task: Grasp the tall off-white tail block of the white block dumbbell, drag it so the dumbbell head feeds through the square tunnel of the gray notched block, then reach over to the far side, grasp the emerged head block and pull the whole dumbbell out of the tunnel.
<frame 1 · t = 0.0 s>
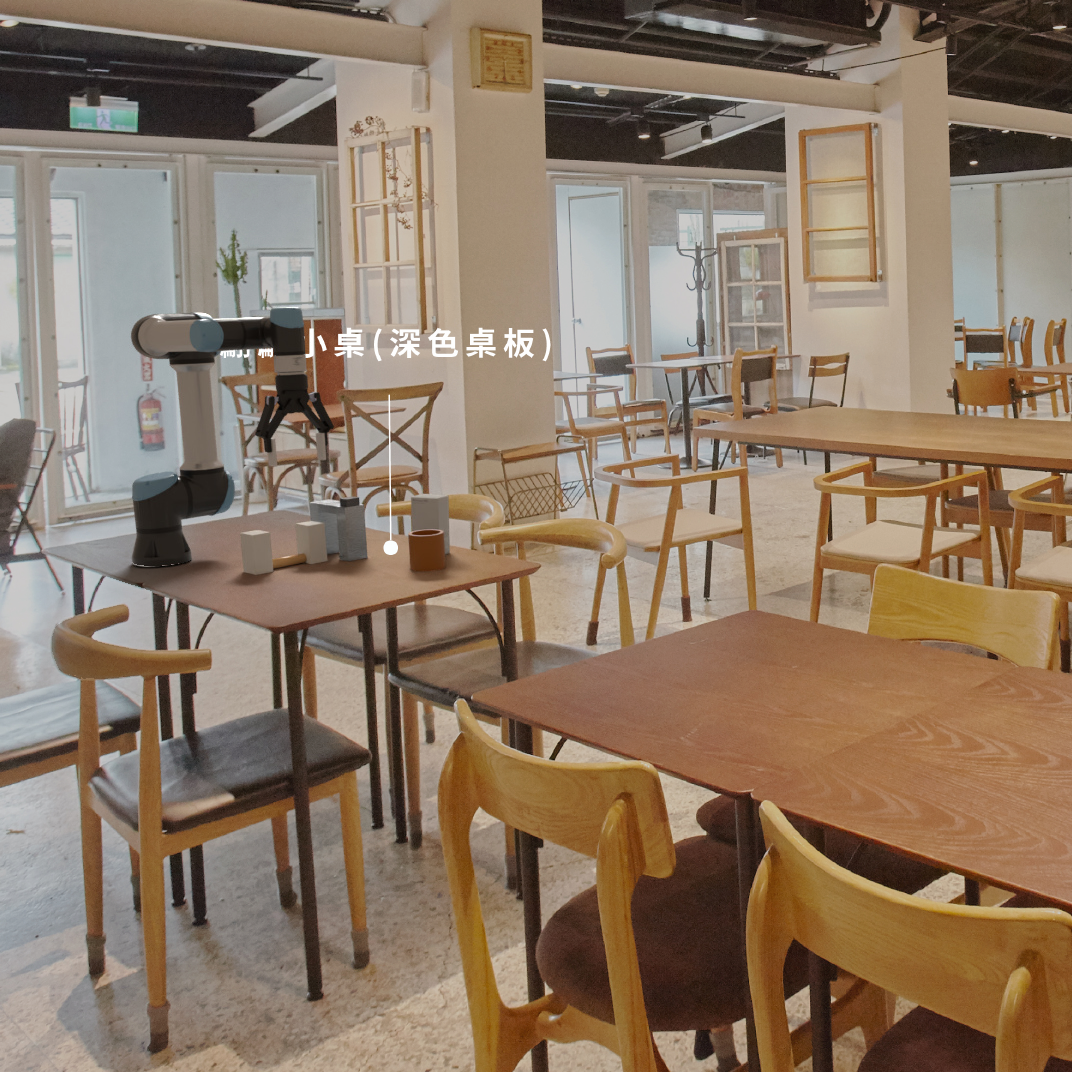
hand: (297, 463, 291), 28 cm above the table, fingers open, 13 cm apart
skincare box: (432, 555, 318), on the table
mug: (430, 567, 303), on the table
white block dumbbell: (312, 561, 315), on the table
gray notched block: (340, 555, 321), on the table
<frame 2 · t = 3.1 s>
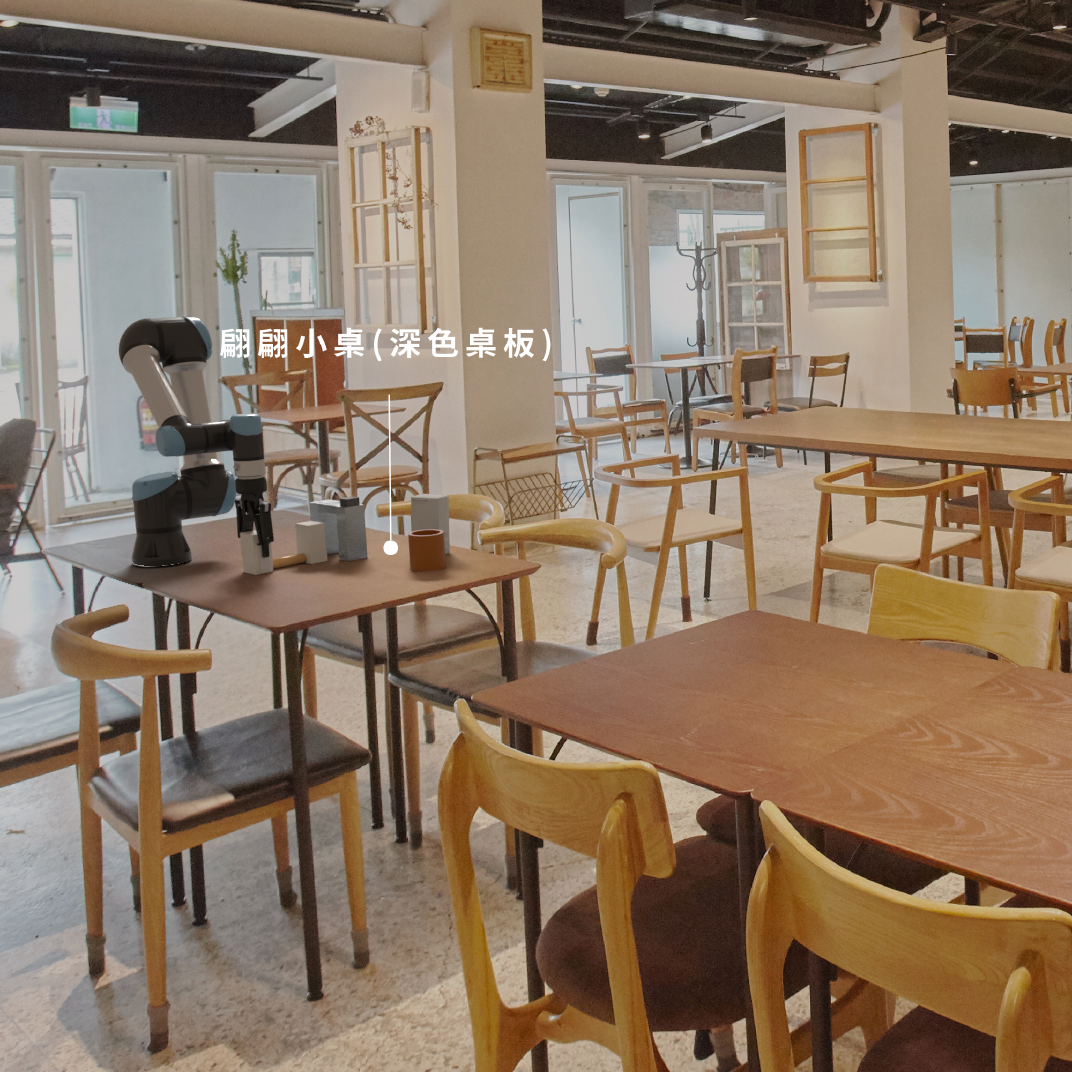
hand: (258, 568, 305), 1 cm above the table, fingers closed on white block dumbbell, 6 cm apart
white block dumbbell: (312, 561, 315), on the table, touching gripper
everything else where it was.
when the fingers open (1 cm above the table, at t = 8.0 s): white block dumbbell stays where it is, on the table.
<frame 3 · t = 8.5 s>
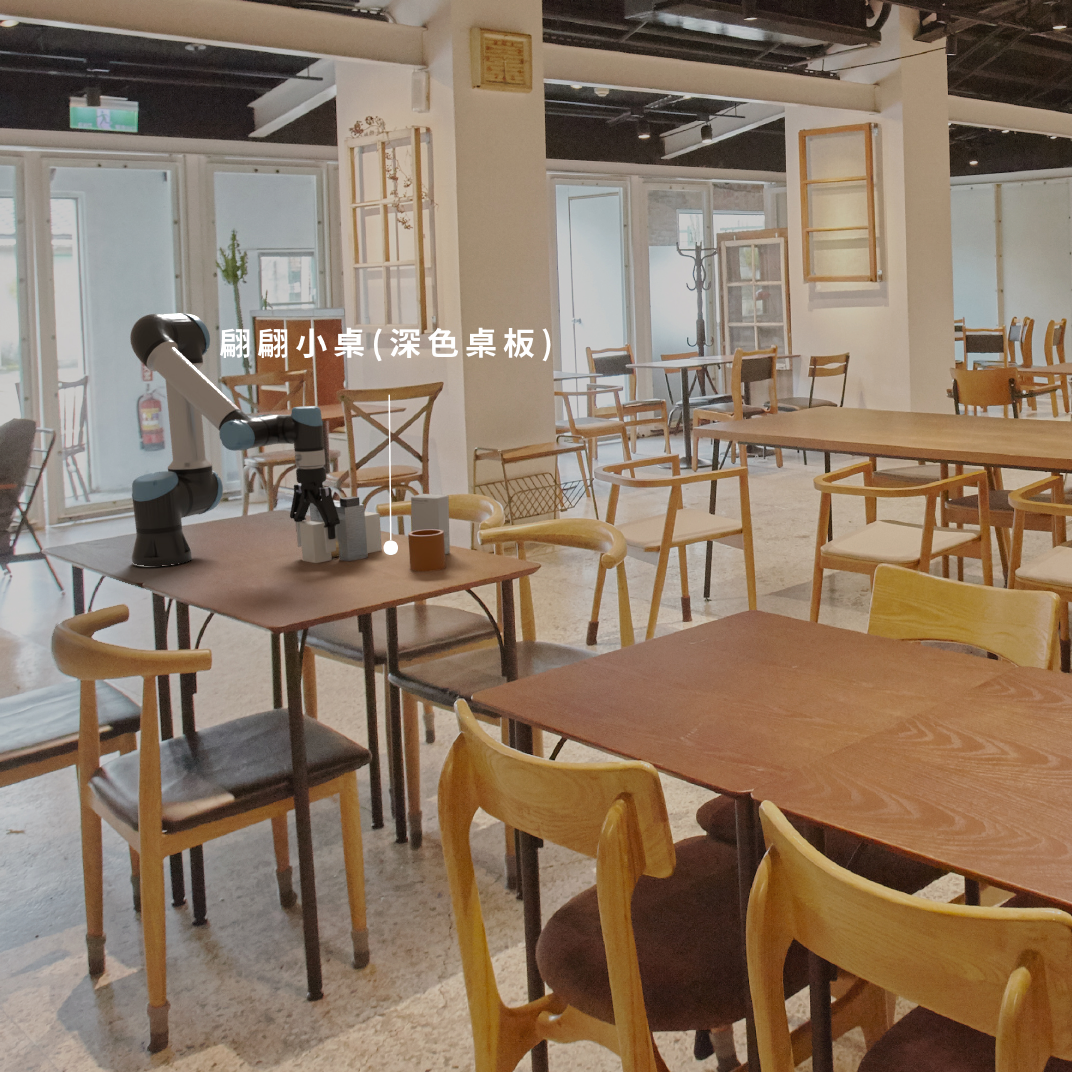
hand: (316, 548, 316), 3 cm above the table, fingers open, 12 cm apart
white block dumbbell: (367, 550, 327), on the table
everything else where it was.
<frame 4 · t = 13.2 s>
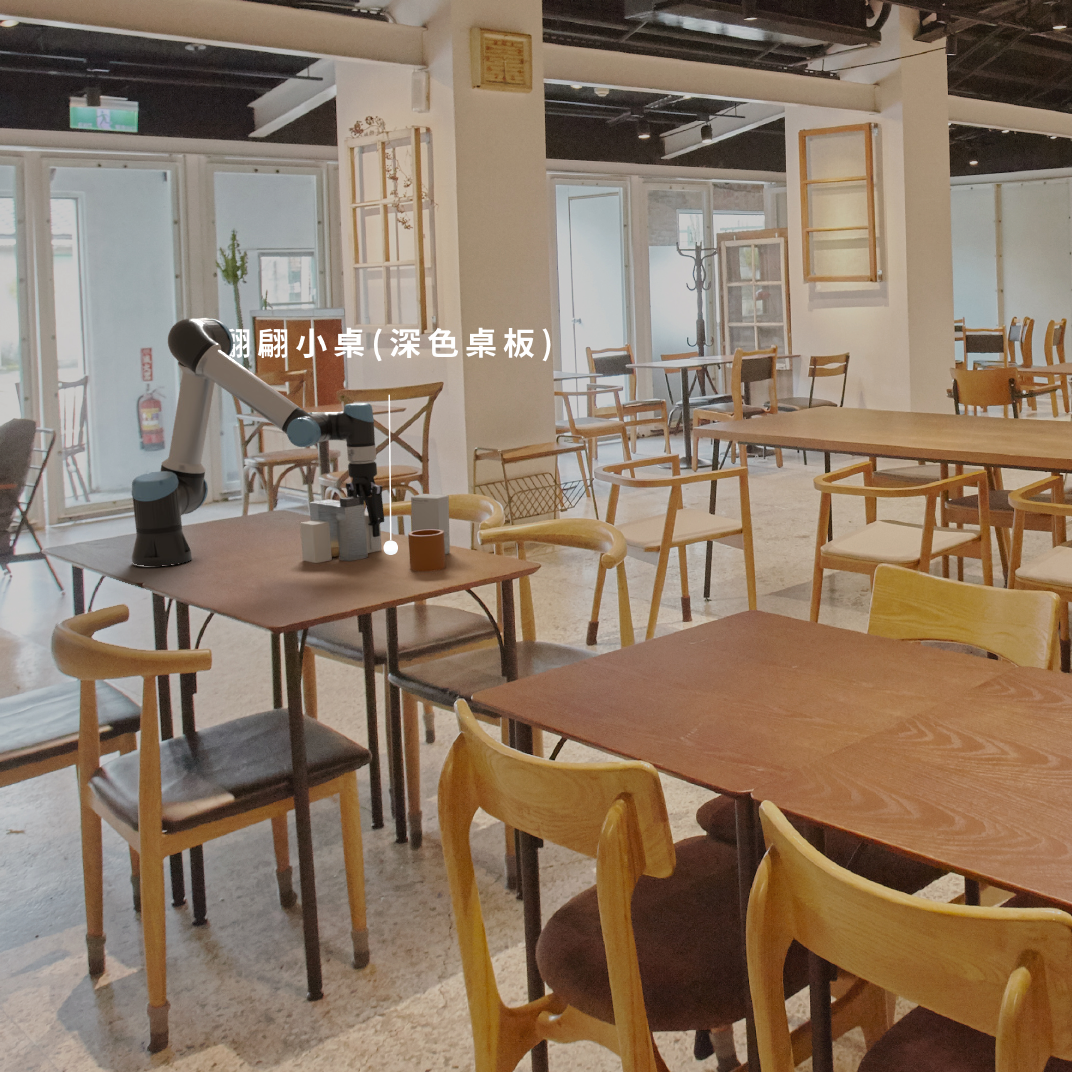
hand: (367, 546, 327), 1 cm above the table, fingers closed on white block dumbbell, 6 cm apart
white block dumbbell: (367, 550, 327), on the table, touching gripper
everything else where it was.
when the fingers open (1 cm above the table, at t = 17.5 s): white block dumbbell stays where it is, on the table.
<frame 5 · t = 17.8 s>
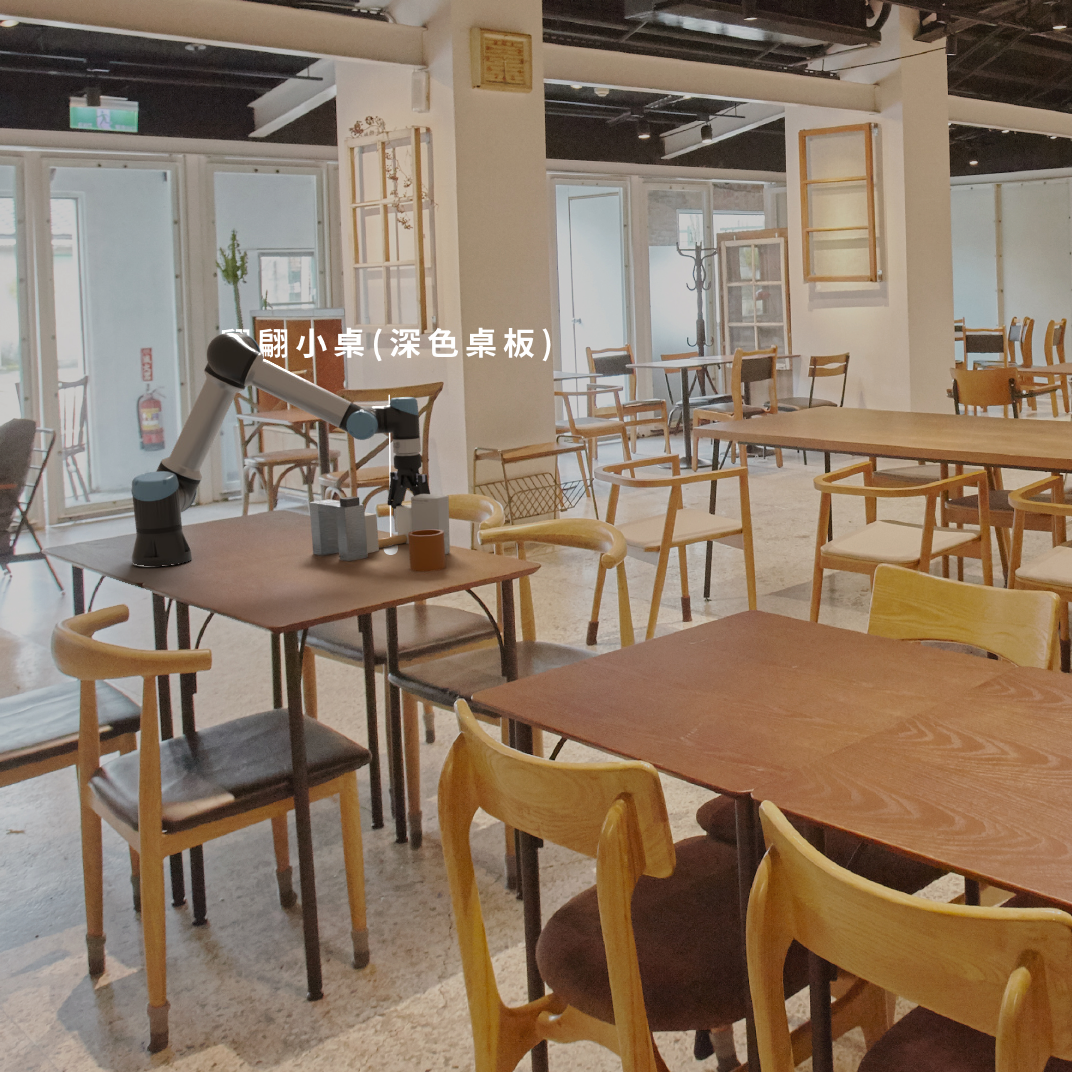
hand: (411, 533, 337), 2 cm above the table, fingers open, 10 cm apart
white block dumbbell: (412, 541, 337), on the table
everything else where it was.
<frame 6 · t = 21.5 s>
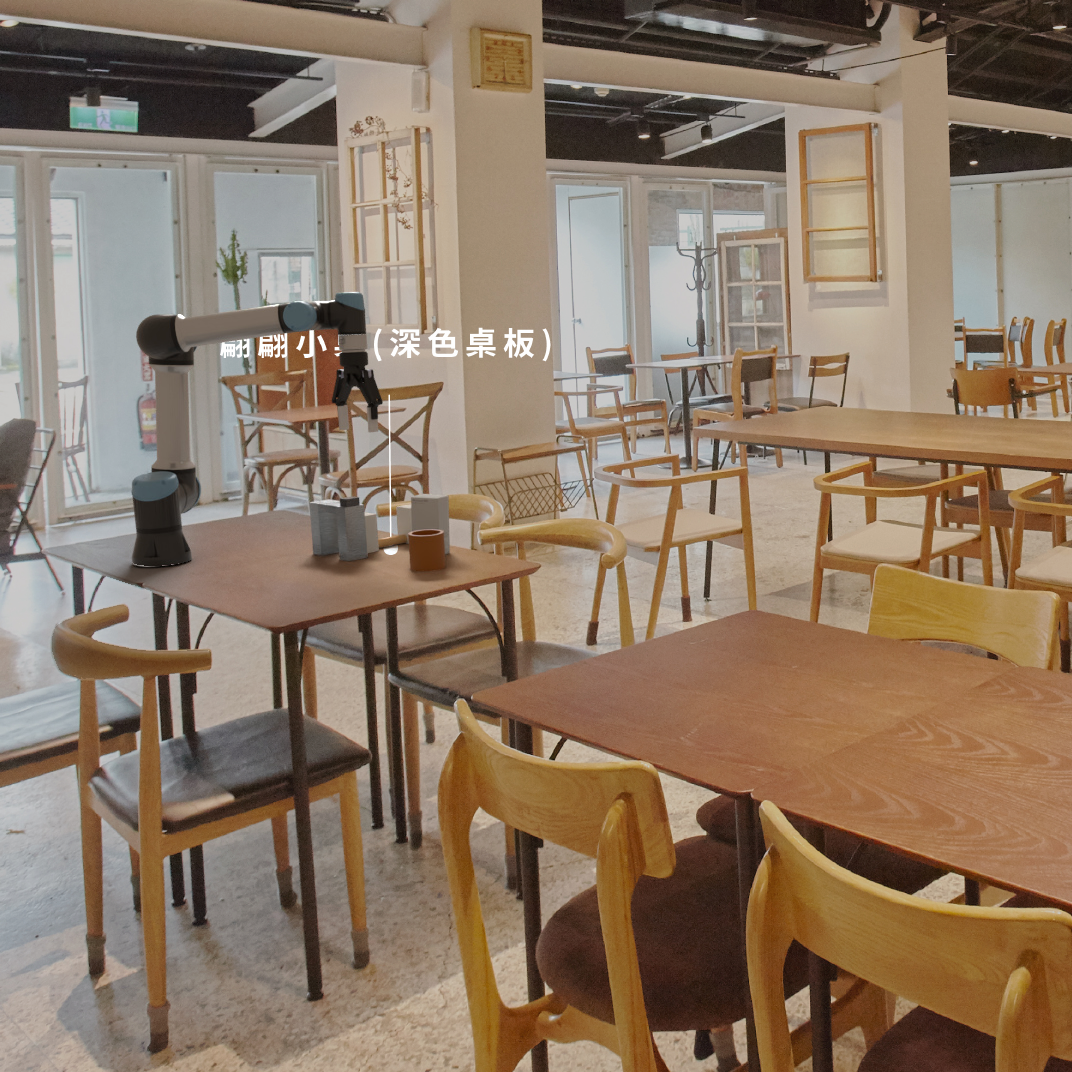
hand: (358, 431, 327), 32 cm above the table, fingers open, 13 cm apart
nothing on the table moved.
at the end: white block dumbbell inside the target area on the table beside the gray notched block (0.1 cm from its centre), on the table; the gripper is holding nothing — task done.
